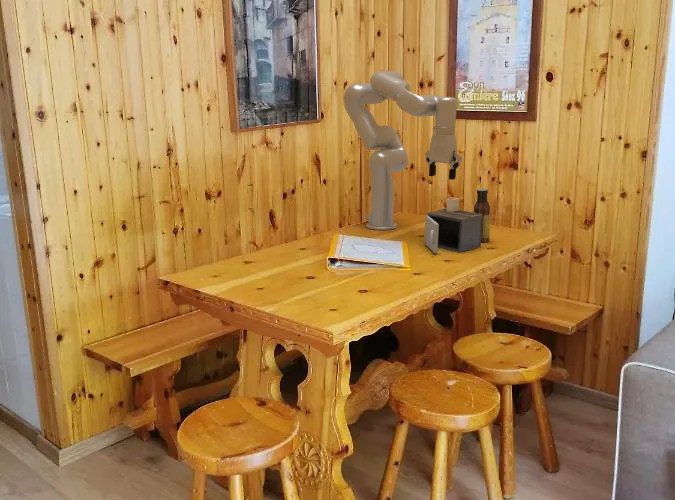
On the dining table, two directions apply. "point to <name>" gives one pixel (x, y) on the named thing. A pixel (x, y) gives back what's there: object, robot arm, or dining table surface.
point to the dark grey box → (458, 229)
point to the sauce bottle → (483, 213)
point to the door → (431, 234)
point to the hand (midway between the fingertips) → (441, 177)
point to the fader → (452, 204)
